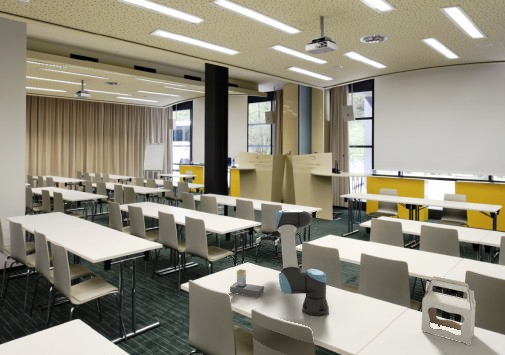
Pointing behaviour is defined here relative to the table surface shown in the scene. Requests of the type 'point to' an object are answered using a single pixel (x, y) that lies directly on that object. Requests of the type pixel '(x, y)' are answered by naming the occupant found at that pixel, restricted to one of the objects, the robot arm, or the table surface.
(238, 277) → the steel peg
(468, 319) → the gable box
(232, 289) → the grey rectangular block
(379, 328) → the table surface
